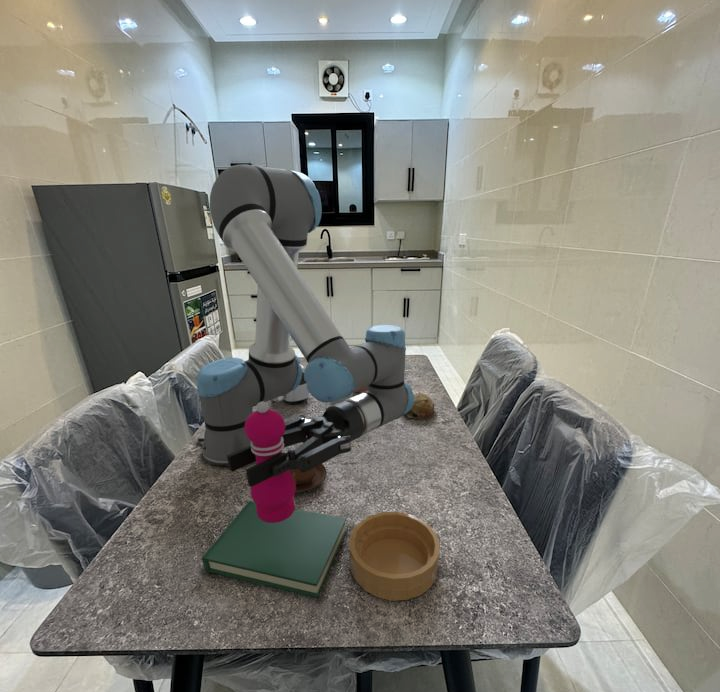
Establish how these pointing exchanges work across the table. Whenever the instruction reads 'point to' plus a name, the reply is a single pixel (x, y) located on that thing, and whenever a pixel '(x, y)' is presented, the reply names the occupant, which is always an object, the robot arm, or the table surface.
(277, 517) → the pepper mill
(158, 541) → the table surface
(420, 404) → the bread roll
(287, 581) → the book
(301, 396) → the spread jar
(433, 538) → the bowl
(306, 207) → the robot arm
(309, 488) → the cup and saucer
